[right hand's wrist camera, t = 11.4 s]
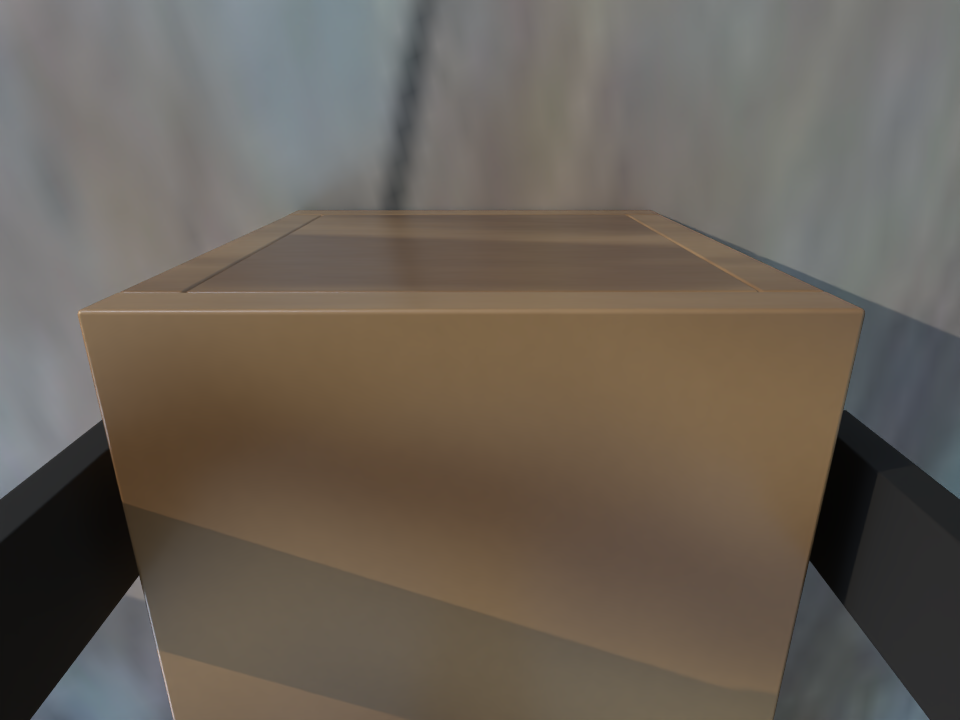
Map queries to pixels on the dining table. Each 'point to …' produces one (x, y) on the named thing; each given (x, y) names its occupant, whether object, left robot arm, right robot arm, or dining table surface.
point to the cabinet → (472, 465)
